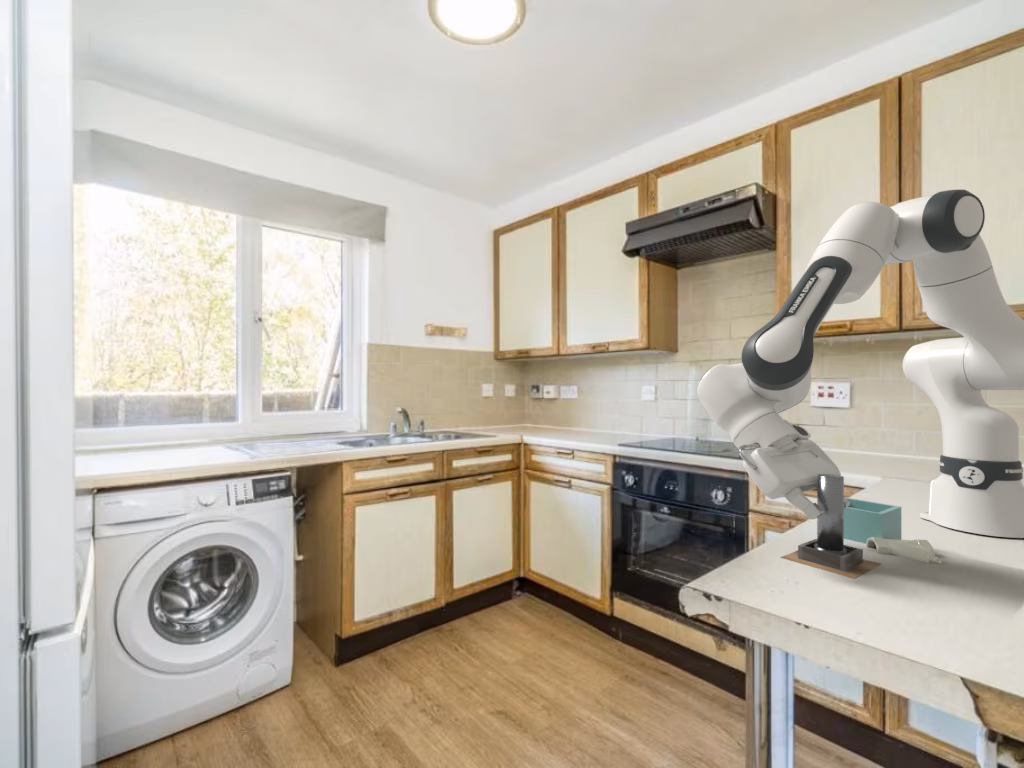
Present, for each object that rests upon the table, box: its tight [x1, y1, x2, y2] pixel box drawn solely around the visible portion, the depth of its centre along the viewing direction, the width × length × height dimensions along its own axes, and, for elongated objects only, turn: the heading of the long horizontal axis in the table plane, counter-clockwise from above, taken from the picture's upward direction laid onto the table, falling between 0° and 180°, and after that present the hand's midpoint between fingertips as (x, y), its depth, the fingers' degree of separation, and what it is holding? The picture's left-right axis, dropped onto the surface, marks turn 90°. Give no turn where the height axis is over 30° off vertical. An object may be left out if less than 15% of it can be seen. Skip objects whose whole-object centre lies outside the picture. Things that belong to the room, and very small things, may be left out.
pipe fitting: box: [865, 537, 944, 565], centre depth 76 cm, size 8×4×7 cm
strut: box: [814, 474, 847, 556], centre depth 74 cm, size 4×4×13 cm
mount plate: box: [780, 538, 882, 579], centre depth 73 cm, size 10×10×4 cm
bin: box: [844, 496, 902, 545], centre depth 86 cm, size 9×9×7 cm
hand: (832, 512), depth 73 cm, fingers open, 8 cm apart
